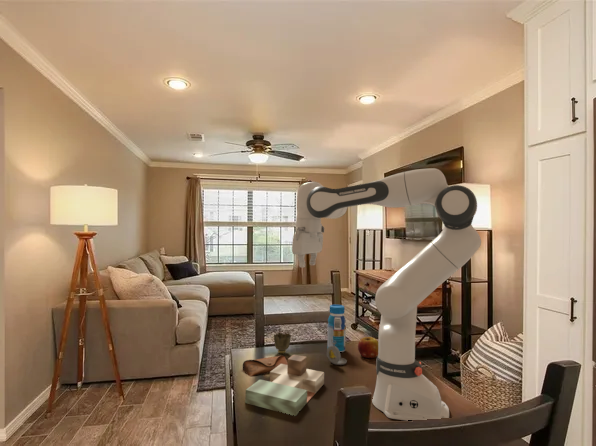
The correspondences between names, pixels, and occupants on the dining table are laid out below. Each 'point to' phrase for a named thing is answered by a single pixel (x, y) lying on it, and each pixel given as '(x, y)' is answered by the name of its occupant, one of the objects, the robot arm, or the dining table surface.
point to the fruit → (368, 347)
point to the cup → (282, 342)
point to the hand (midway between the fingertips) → (307, 266)
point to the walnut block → (296, 365)
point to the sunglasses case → (263, 365)
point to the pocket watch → (335, 355)
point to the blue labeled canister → (337, 327)
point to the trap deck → (285, 390)
